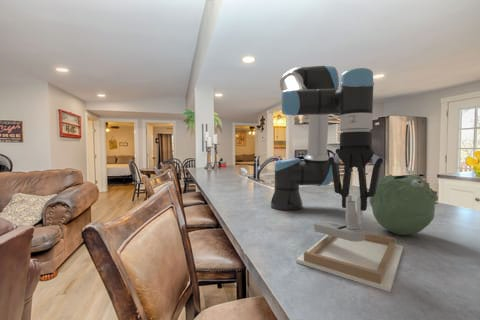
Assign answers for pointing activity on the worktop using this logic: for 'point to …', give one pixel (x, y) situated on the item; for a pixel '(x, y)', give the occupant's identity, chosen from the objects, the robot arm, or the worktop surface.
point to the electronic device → (343, 227)
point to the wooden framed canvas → (357, 259)
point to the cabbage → (403, 204)
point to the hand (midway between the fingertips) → (353, 221)
